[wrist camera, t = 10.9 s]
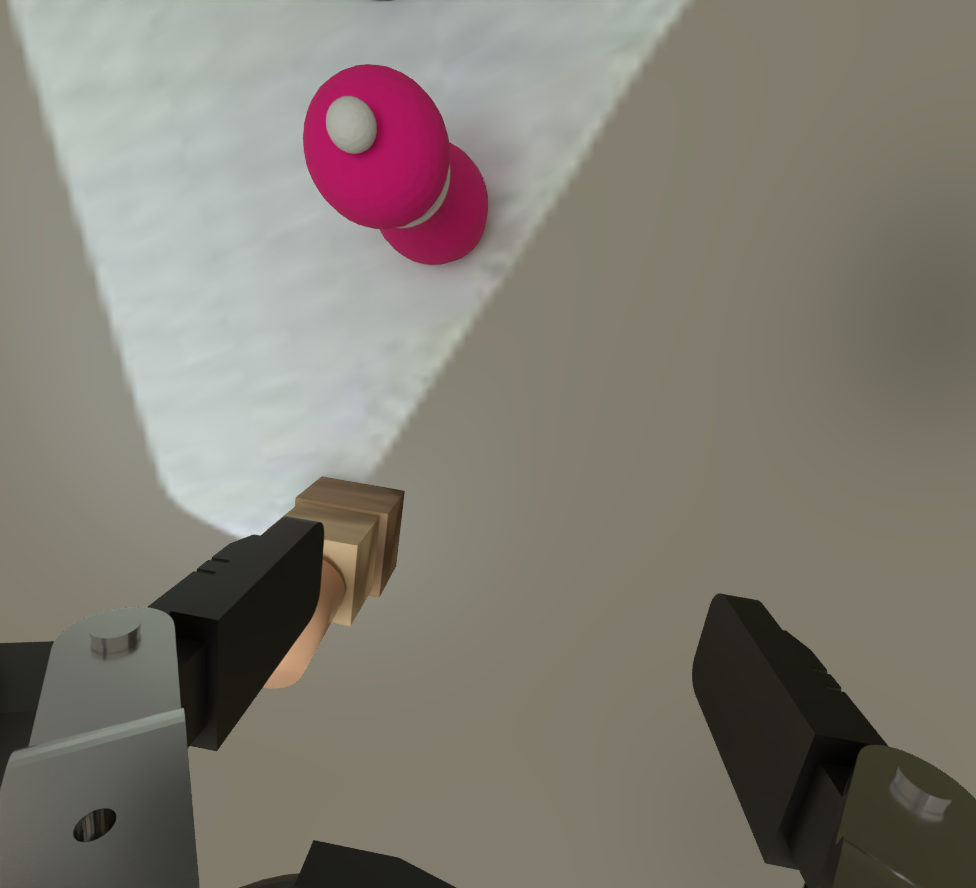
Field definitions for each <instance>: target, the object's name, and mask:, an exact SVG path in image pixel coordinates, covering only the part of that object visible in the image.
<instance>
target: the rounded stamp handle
mask: <svg viewBox="0 0 976 888" xmlns="http://www.w3.org/2000/svg"><path fill="white" fill-rule="evenodd" d="M344 596H345V587H344V583H343V580H342V578H341V576H340V575H339V573H338V572H337V571H336V569H335V568H334V567H333V566H332V565H330V564H329V563H328V562H326V561H325V560H323V563H322V577H321V590H320V597H319V601H318V605H317V608H316V610H315V613H314V615H313V617H312V619H311V621H310V622H309V624H308V625H307V626H306V628H305V629H304V631H303V632H302V633H301V635H300V636H299V638H298V639H297V640H296V642H295V643H294V645H293V646H292V647H291V649H290V650H289V651H288V653H287V654H286V656H285V657H284V658H283V660H282V661H281V663H280V664H279V665H278V667H277V668H276V670H275V671H274V672H273V674H272V675H271V677H270V678H269V679H268V681H267V682H266V684H265V685H264V686H263V688H271V689H275V688H283V687H287V686H290V685H292V684H294V683H295V682H297V681H298V680H299V679H300V677H301V676H302V675H303V673H304V671H305V670H306V668H307V666H308V664H309V662H310V660H311V659H312V657H313V655H314V653H315V651H316V649H317V648H318V646H319V644H320V642H321V640H322V639H323V637H324V635H325V633H326V631H327V629H328V627H329V626H330V624H331V622H332V620H333V618H334V617H335V615H336V613H337V611H338V609H339V608H340V606H341V604H342V602H343V600H344Z"/></svg>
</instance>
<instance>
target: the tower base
mask: <svg viewBox="0 0 976 888" xmlns="http://www.w3.org/2000/svg"><path fill="white" fill-rule="evenodd" d="M404 493H405V491H403V490H397V489H392V488H386V487H380V486H374V485H369V484H361V483H355V482H349V481H344V480H338V479H332V478H327V477H321V478H320V479H319V480H317V481H316V482H315V483H313V484H312V485H311V486H310V487H308V488H307V489H306V490H305V491H303V492H302V493H301V494H300V495H298V496H297V497H296V501H295V506H297V505H298V504H299V503H300V502H305V503H310V504H316V505H322V506H328V507H333V508H339V509H345V510H350V511H356V512H362V513H368V514H373V515H379V516H380V522H379V532H378V542H377V552H376V562H375V572H374V582H373V588H372V590H371V592H370V594H369V595H368V596H374V597H380V595H381V593H382V591H383V590H384V588H385V586H386V584H387V582H388V580H389V578H390V577H391V575H392V573H393V571H394V569H395V567H396V562H397V554H398V545H399V535H400V527H401V519H402V509H403V501H404Z"/></svg>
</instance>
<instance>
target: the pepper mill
mask: <svg viewBox="0 0 976 888" xmlns="http://www.w3.org/2000/svg"><path fill="white" fill-rule="evenodd" d="M303 143H304V153H305V159H306V164H307V167H308V170H309V173H310V175H311V177H312V179H313V182H314V183H315V185H316V187H317V188H318V190H319V192H320V193H321V195H322V196H323V197H324V199H325V200H326V201H327V202H328V203H329V204H330V205H331V206H332V207H333V208H334V209H335V210H337V211H338V212H339V213H340V214H341V215H343V216H344V217H346V218H347V219H348V220H350V221H352V222H355V223H357V224H359V225H362V226H366V227H370V228H374V229H380V231H381V233H382V234H383V236H384V238H385V239H386V240H387V241H388V242H389V244H390V245H391V246H392V247H393V248H394V249H395V250H396V251H398V252H399V253H401V254H402V255H403V256H405V257H406V258H408V259H410V260H412V261H415V262H418V263H422V264H429V265H437V264H444V263H448V262H451V261H454V260H457V259H459V258H462V257H463V256H465V255H466V254H468V253H469V252H470V251H471V250H472V249H473V248H474V247H475V246H476V245H477V243H478V242H479V240H480V238H481V236H482V234H483V231H484V228H485V223H486V218H487V212H488V195H487V190H486V185H485V183H484V180H483V177H482V175H481V173H480V171H479V170H478V168H477V167H476V165H475V164H474V163H473V161H472V160H471V159H470V158H469V157H468V155H467V154H466V153H465V152H463V151H462V150H461V149H460V148H458V147H457V146H455V145H453V144H451V143H449V139H448V134H447V131H446V128H445V125H444V121H443V118H442V116H441V114H440V112H439V111H438V109H437V107H436V105H435V104H434V102H433V101H432V99H431V98H430V96H429V95H428V94H427V93H426V92H425V91H424V90H423V89H422V88H421V87H420V86H419V85H418V84H417V83H416V82H415V81H414V80H413V79H411V78H409V77H408V76H406V75H405V74H403V73H401V72H399V71H396V70H394V69H392V68H389V67H386V66H380V65H370V64H366V65H357V66H354V67H351V68H348V69H345V70H342V71H340V72H339V73H337V74H336V75H334V76H333V77H331V78H330V79H329V80H328V81H327V82H325V83H324V84H323V85H322V86H321V87H320V88H319V90H318V91H317V93H316V94H315V96H314V97H313V99H312V101H311V103H310V105H309V108H308V111H307V115H306V119H305V122H304V133H303Z"/></svg>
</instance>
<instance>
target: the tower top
mask: <svg viewBox="0 0 976 888" xmlns="http://www.w3.org/2000/svg"><path fill="white" fill-rule="evenodd" d="M284 516H289V517H295V518H301V519H306V520H312V521H318V522H321V523H322V524H323V526H324V548H323V560H325V561H326V562H328V563H329V564H330V565H332V566H333V567H334V568H335V569H336V571H337V572H338V573H339V575H340V576H341V578H342V580H343V583H344V587H345V596H344V600H343V602H342V604H341V606H340V608H339V609H338V611H337V613H336V615H335V617H334V618H333V620H332V622H331V623H336V624H341V625H346V626H351V624H352V623H353V621H354V619H355V618H356V616H357V614H358V612H359V611H360V609H361V607H362V605H363V604H364V602H365V600H366V599H367V597H368V595H369V594H370V592H371V590H372V588H373V582H374V572H375V562H376V552H377V542H378V532H379V522H380V516H379V515H373V514H368V513H362V512H356V511H350V510H345V509H339V508H333V507H328V506H322V505H316V504H310V503H305V502H300V503H299V504H298V505H297V506H295V507H294V508H293V509H292V510H291V511H289V512H288V513H287V514H286V515H284ZM284 516H283V517H284ZM283 517H282V518H283ZM278 521H279V520H278ZM278 521H277V522H278ZM273 525H274V524H273ZM273 525H272V526H273ZM272 526H271V527H272ZM267 530H268V529H267Z"/></svg>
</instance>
